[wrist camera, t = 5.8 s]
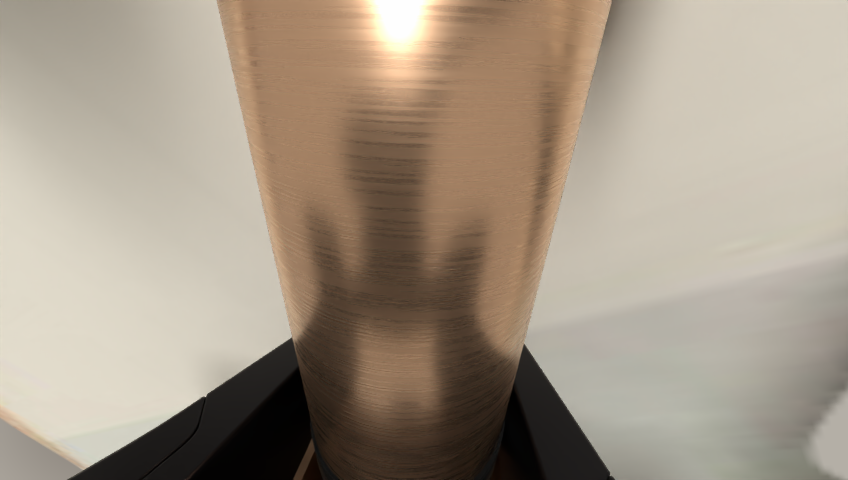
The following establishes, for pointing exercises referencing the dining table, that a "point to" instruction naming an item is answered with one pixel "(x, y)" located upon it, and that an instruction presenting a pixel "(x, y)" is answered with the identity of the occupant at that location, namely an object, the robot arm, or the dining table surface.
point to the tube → (411, 207)
